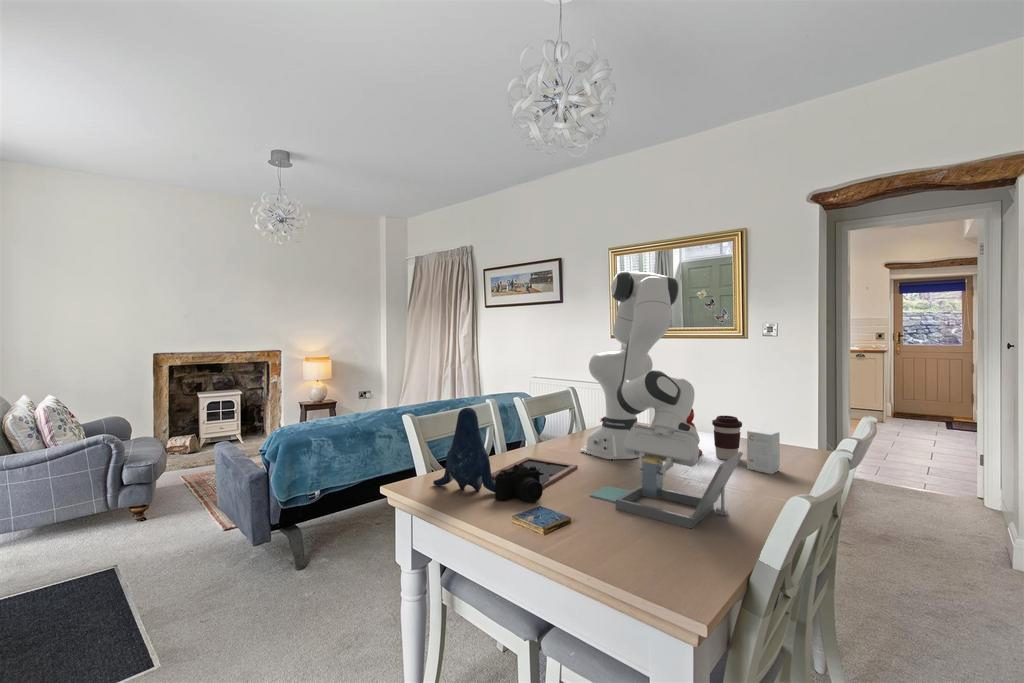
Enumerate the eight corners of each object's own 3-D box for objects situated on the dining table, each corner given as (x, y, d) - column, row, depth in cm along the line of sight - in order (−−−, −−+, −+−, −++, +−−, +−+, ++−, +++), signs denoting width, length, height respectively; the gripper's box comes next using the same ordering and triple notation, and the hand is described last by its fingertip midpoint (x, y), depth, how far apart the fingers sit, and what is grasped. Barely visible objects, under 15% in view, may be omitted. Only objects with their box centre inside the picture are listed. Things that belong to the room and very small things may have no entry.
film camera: (508, 509, 129) (508, 476, 129) (491, 498, 137) (491, 467, 137) (555, 499, 137) (555, 467, 136) (536, 489, 145) (536, 459, 145)
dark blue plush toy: (422, 491, 143) (421, 408, 143) (441, 480, 154) (440, 402, 153) (499, 503, 134) (498, 413, 133) (514, 490, 144) (514, 407, 143)
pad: (589, 496, 139) (589, 494, 139) (607, 487, 146) (607, 485, 146) (621, 504, 132) (621, 502, 132) (638, 494, 140) (638, 493, 140)
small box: (779, 471, 161) (780, 431, 160) (771, 474, 157) (771, 434, 156) (754, 465, 167) (755, 428, 167) (746, 469, 163) (746, 430, 163)
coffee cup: (746, 461, 172) (747, 419, 172) (718, 461, 172) (718, 419, 172) (734, 454, 182) (734, 414, 182) (707, 454, 182) (708, 414, 182)
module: (641, 495, 130) (642, 458, 130) (648, 491, 133) (648, 455, 133) (656, 498, 128) (656, 461, 127) (662, 494, 131) (662, 458, 130)
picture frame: (542, 491, 144) (577, 470, 166) (542, 484, 144) (577, 464, 166) (487, 480, 155) (527, 461, 176) (487, 474, 155) (527, 456, 176)
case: (615, 508, 129) (615, 447, 128) (642, 492, 141) (642, 436, 140) (722, 537, 111) (722, 466, 110) (742, 516, 123) (743, 452, 123)
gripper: (629, 417, 142) (612, 458, 135) (700, 428, 128) (685, 473, 122) (636, 430, 145) (620, 470, 138) (705, 441, 132) (692, 486, 125)
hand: (651, 471), depth 130 cm, fingers closed on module, 4 cm apart
